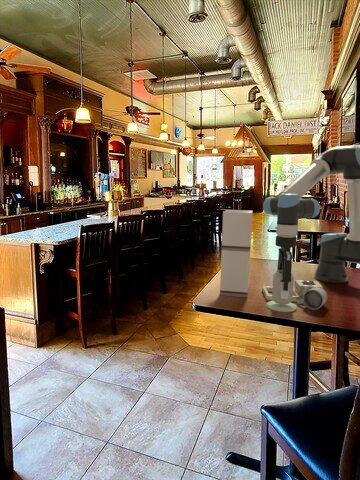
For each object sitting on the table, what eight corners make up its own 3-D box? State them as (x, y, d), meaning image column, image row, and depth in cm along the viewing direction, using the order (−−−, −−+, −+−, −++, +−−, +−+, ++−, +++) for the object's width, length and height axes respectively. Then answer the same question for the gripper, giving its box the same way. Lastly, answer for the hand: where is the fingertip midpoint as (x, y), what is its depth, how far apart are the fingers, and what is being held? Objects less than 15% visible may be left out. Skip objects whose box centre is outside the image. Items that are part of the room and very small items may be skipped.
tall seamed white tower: (248, 290, 161) (252, 210, 155) (247, 297, 151) (251, 212, 145) (222, 287, 163) (225, 209, 158) (219, 295, 153) (223, 211, 147)
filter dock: (314, 292, 158) (315, 279, 158) (323, 303, 145) (324, 288, 144) (262, 290, 160) (262, 277, 160) (266, 300, 147) (267, 285, 146)
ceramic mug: (327, 305, 142) (329, 286, 141) (322, 311, 136) (323, 291, 134) (300, 300, 148) (301, 282, 147) (293, 306, 142) (295, 287, 140)
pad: (293, 303, 145) (293, 301, 144) (299, 312, 134) (299, 310, 134) (265, 301, 146) (265, 299, 145) (269, 311, 135) (269, 309, 135)
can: (276, 297, 145) (278, 267, 143) (295, 301, 140) (297, 271, 138) (268, 301, 139) (270, 271, 137) (287, 306, 134) (289, 274, 132)
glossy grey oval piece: (311, 291, 154) (312, 280, 153) (313, 294, 150) (314, 282, 149) (301, 291, 154) (302, 279, 153) (303, 294, 150) (304, 282, 149)
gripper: (271, 231, 146) (268, 287, 149) (280, 239, 126) (276, 303, 129) (291, 232, 145) (287, 287, 149) (303, 240, 125) (298, 304, 129)
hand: (282, 295), depth 139 cm, fingers closed on can, 7 cm apart
